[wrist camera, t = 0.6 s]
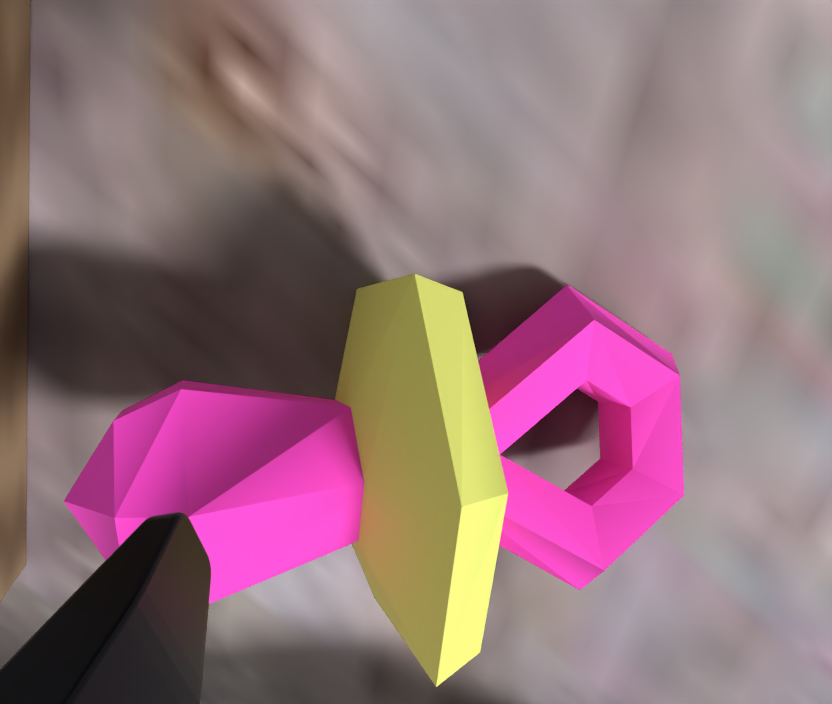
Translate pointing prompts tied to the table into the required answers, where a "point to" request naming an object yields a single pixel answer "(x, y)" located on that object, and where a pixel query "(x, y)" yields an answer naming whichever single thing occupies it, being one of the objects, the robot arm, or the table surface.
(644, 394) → the toy
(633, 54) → the table surface
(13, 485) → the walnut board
